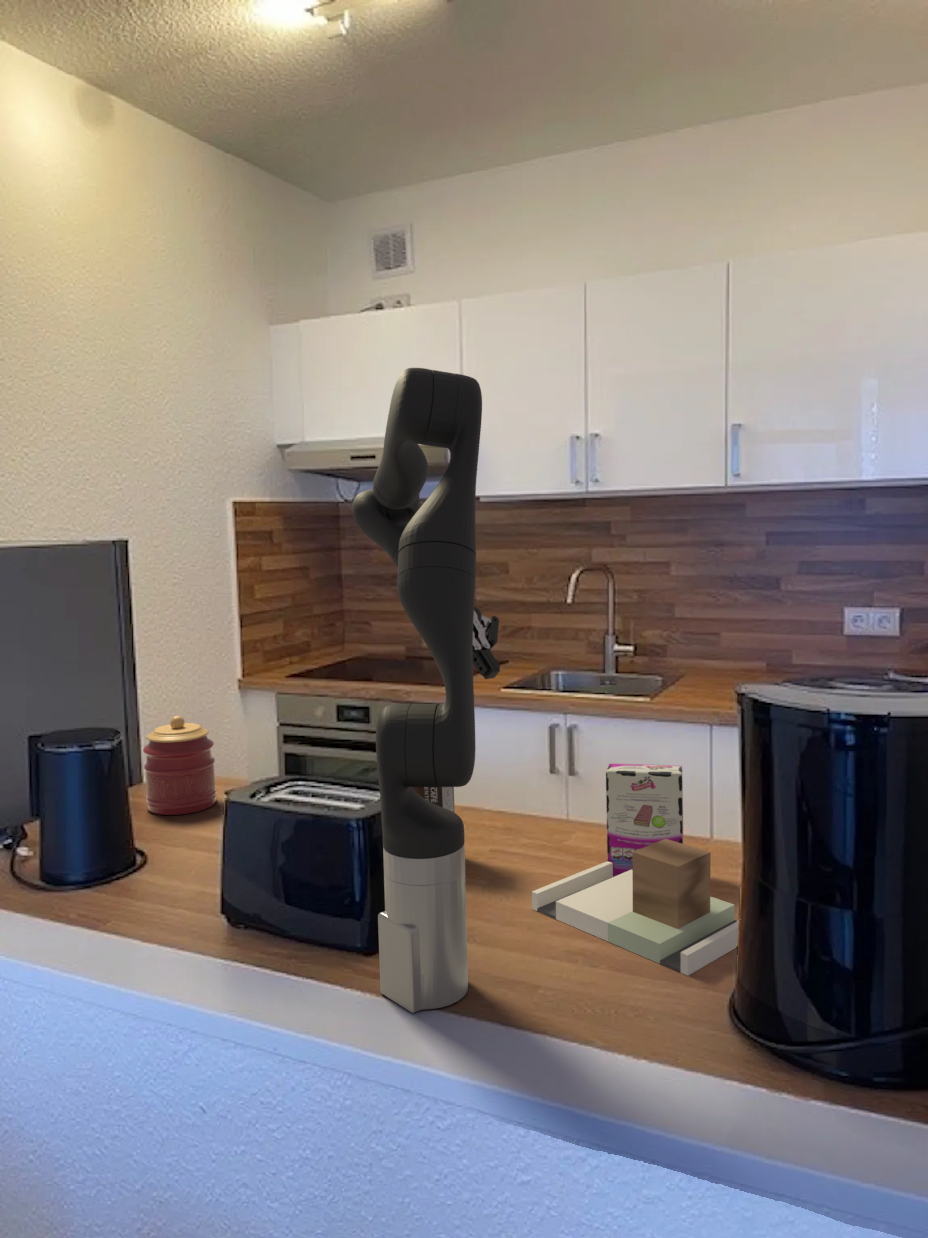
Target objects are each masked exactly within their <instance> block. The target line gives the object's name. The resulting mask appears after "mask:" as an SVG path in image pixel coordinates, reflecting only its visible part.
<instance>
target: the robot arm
mask: <svg viewBox="0 0 928 1238" xmlns="http://www.w3.org/2000/svg"><path fill="white" fill-rule="evenodd" d="M396 380H397V381H396V382H395V384H394V387H393V390H392V395H391V400H390V404H389V410H388V415H387V420H386V427H385V433H384V439H383V448H382V449H383V450H382V457H381V460H380V462H379V464H378V467H377V470H376V473H375V474H374V478H373V480H372V481H373V482H372V488H370V489H367V490H363V491H362V492H361V491H360V493H358V494H357V495H356V496H355V497H354V498H353V501H352V505H351V511H352V515H353V519H354V521H355V523H356V525H357V526H358V528H359V529H360V530H361V531H362V533H363V534H365V536H367V538H369V539H370V540H371V541H372V542H374V543H375V544H377V546H379V547H380V548H381V549H382V550H383V551H384V552H385V553H386V554H387V555H388V556H389V557H390V558H391V560H392V561H393V563H394V564H395V567H397V577H396V579H397V581H396V590H397V596H398V598H399V601H400V603H401V606H402V609H403V611H404V612H405V613H406V615H407V616H408V619H409V620H410V622H411V624H412V625H413V627H414V628H415V630H416V631H417V632H418V634H419V636H420V637H421V639H422V640H423V642H424V644H425V645H426V646H427V649H428V650H429V652H430V654H431V656H432V658H433V660H434V662H435V663H436V666H437V668H438V672H439V673H440V676H441V679H442V682H443V685H444V691H445V702H444V703H393V704H388V705H386V706H385V707H384V708H382V710H381V711H380V713H379V716H378V718H377V722H376V728H375V729H376V730H375V753H376V765H377V775H378V785H379V796H380V798H379V799H380V800H379V801H380V816H381V818H380V819H381V820H380V821H381V831H382V847H383V848H382V850H383V851H382V853H383V854H382V855H383V856H382V858H383V885H384V911H381V912H379V913H378V915H377V925H378V926H377V927H378V931H377V933H378V954H379V956H378V957H379V977H380V978H379V983H380V984H379V986H380V993H381V994H382V995H383V996H385V997H387V998H388V999H390V1000H391V1001H393V1002H395V1003H396V1004H397V1005H399V1006H401V1007H402V1008H403V1009H405V1010H406V1011H408V1012H410V1013H412V1014H413V1013H417V1012H419V1011H421V1010H422V1011H423V1010H433V1009H440V1008H445V1007H448V1006H451V1005H453V1004H454V1003H458V1002H459V1001H460V1000H461V999H463V998H464V996H466V994H467V992H468V990H469V980H468V979H469V975H468V973H469V971H468V967H469V966H468V934H467V933H468V931H467V927H468V926H467V899H466V898H467V892H466V891H467V889H466V852H465V851H466V849H465V847H466V846H465V845H466V844H465V826H464V821H463V820H462V817H461V816H460V815H458V813H456V812H455V813H454V812H452V811H450V810H448V809H445V808H443V807H440V806H437V805H435V804H433V803H431V802H429V801H427V800H425V799H424V798H422V797H421V796H420V795H419V794H417V793H416V792H415V791H414V789H413V788H412V787H454V788H460V787H464V786H467V784H469V783H470V782H471V779H472V778H473V777H472V776H473V774H474V769H475V763H476V719H475V718H476V717H475V716H476V713H475V691H474V690H475V689H474V686H475V685H474V666H475V668H476V670H477V671H478V674H479V675H480V676H482V677H483V678H484V680H489V679H495V678H496V676H497V675H498V674H499V673H500V672H501V671H500V669H501V667H500V664H499V662H498V660H497V659H496V657H495V656H494V655H493V653H492V650H493V648H494V647H495V646H496V645H497V644H498V639H499V638H498V636H499V627H500V625H499V624H500V619H499V618H498V616H495V615H492V616H491V618H489V617H487V616H484V615H483V613H482V611H481V609H479V608H478V607H477V606H475V598H476V597H475V596H476V580H477V579H476V577H477V575H476V574H477V573H476V572H477V570H476V569H477V568H476V567H477V546H476V545H477V543H476V541H477V540H476V538H477V537H476V535H477V534H476V496H477V495H476V492H477V491H476V490H477V476H478V467H479V466H478V463H479V453H480V452H479V451H480V444H481V443H480V442H481V430H482V416H483V394H482V389H481V386H480V383H479V382H478V380H477V379H475V378H474V377H472V376H470V375H469V376H468V375H465V374H460V373H454V372H448V371H441V370H436V369H431V368H423V367H409V368H406V369H404V370H403V371H402V372H401V373H400V375H399V376H398V378H397V379H396ZM420 445H421V446H422V445H423V446H427V447H428V446H430V447H434V448H435V447H436V448H442V449H447V450H449V461H448V466H447V469H446V470H445V472H444V474H443V476H442V477H441V479H440V481H439V482H438V484H437V485H436V486H435V488H434V490H433V491H432V492H431V494H430V495H429V497H427V499H426V500H425V501H424V503H422V505H421V500H420V493H421V491H422V490H423V488H424V486H425V484H426V481H427V479H428V474H429V465H428V460H427V456H426V454H425V453H424V451H423V449H422V448H421V446H420Z"/></svg>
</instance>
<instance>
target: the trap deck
mask: <svg viewBox="0 0 928 1238" xmlns="http://www.w3.org/2000/svg"><path fill="white" fill-rule="evenodd" d="M735 907H736V906H735V904H733V903H732V902H727V901H726V900H725V901H724V900H722V899H719V898H717V897H713V896H711V895H710V913H708V914H706V915H704V916H702V917H700V918H698V919H696V920H694V921H692V922H690V923H688V924H687V925H685V926H683V927H681V928H679V929H676V928H674V927H671V926H668V925H666V924H663V923H661V922H658V921H655V920H653V919H650V918H648V917H645V916H642V915H640V914H637V913H635V912H633V870H632V869H631V870H629V871H626V872H624V873H622V874H619V875H617V876H615V877H613V863H612V862H609V861H605V862H601V863H599V864H597V865H595V866H592V867H590V868H586V869H584V870H582V871H579V872H576V873H574V874H571V875H569V876H567V877H564V878H562V879H559V880H557V881H555V882H552V883H550V884H546V885H545V886H541V887H539V888H537V889H535V890H533V891H531V909H532V910H534V911H536V912H539V913H541V914H543V915H545V916H548V917H549V918H552V919H554V920H557V921H559V922H561V923H563V924H566V925H569V926H571V927H573V928H576V929H578V930H580V931H582V932H585V933H587V934H589V935H592V936H595V937H596V938H598V939H602V940H603V941H605V942H608V943H611V944H613V945H615V946H617V947H620V948H623V949H624V950H626V951H629V952H631V953H634V954H636V955H638V956H640V957H643V958H645V959H648V960H650V961H653V962H654V963H657V964H659V965H661V966H664V967H666V968H669V969H671V970H674V971H676V972H677V973H680V974H683V975H685V976H690V975H691V974H693V973H695V972H697V971H698V970H700V969H702V968H704V967H705V966H707V965H708V964H709V965H710V964H711V963H712V962H714V961H716V960H718V959H719V958H721V957H723V956H724V955H726V954H727V953H729V952H731V951H733V950H735V949H736V944H737V938H738V923H739V920H735Z"/></svg>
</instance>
